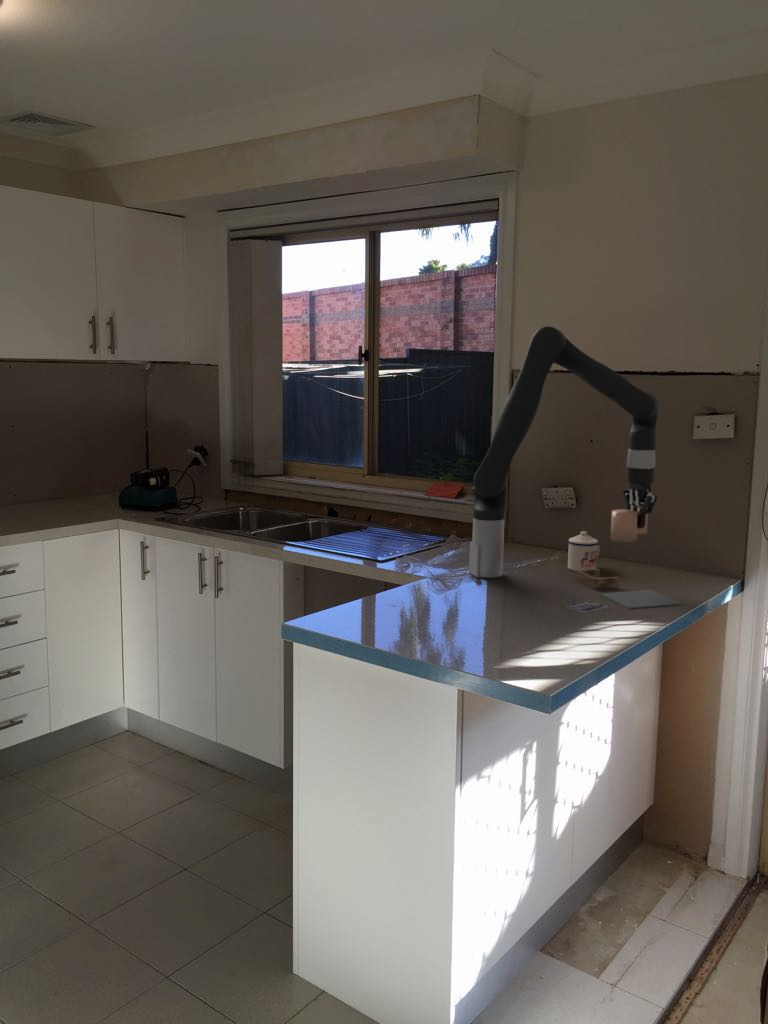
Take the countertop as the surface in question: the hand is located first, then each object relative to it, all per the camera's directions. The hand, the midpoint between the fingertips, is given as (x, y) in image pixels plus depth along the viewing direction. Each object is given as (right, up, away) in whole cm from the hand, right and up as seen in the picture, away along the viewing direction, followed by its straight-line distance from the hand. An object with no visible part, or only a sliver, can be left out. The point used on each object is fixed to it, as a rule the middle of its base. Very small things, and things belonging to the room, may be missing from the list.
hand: (638, 526), depth 241 cm
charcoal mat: (-2, -20, -10) cm, 22 cm away
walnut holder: (-10, -17, +7) cm, 21 cm away
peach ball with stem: (-3, -3, 0) cm, 4 cm away
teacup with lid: (-9, -13, +26) cm, 30 cm away
